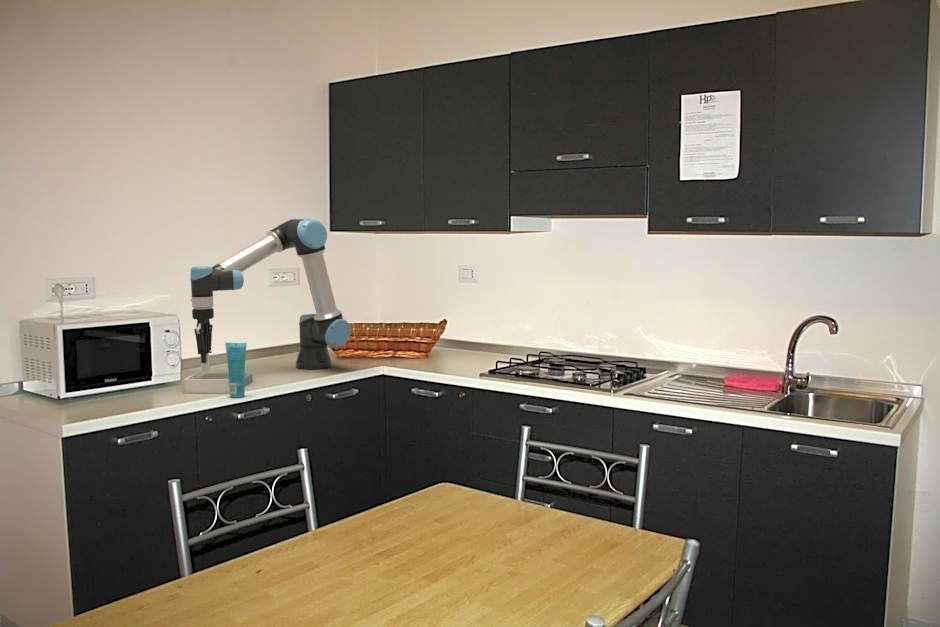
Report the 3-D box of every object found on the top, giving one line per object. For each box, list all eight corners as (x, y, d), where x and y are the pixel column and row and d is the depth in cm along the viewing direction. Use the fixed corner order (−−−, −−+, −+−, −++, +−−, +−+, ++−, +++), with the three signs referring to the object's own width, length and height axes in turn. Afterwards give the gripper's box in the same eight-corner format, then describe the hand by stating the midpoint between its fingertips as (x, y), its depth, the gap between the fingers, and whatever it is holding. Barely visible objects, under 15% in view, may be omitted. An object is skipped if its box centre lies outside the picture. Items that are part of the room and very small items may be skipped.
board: (252, 381, 315) (252, 374, 315) (242, 388, 302) (242, 380, 302) (206, 381, 315) (206, 373, 315) (194, 387, 302) (194, 379, 302)
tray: (242, 388, 302) (241, 374, 301) (233, 393, 291) (232, 379, 291) (194, 387, 302) (193, 374, 302) (183, 393, 292) (183, 379, 291)
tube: (249, 395, 289) (247, 341, 287) (246, 397, 284) (245, 343, 282) (227, 395, 288) (226, 341, 286) (224, 398, 284) (223, 343, 282)
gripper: (198, 306, 306) (201, 368, 308) (186, 309, 293) (189, 374, 295) (218, 306, 306) (221, 368, 308) (206, 309, 293) (209, 374, 295)
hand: (205, 371), depth 302 cm, fingers closed
